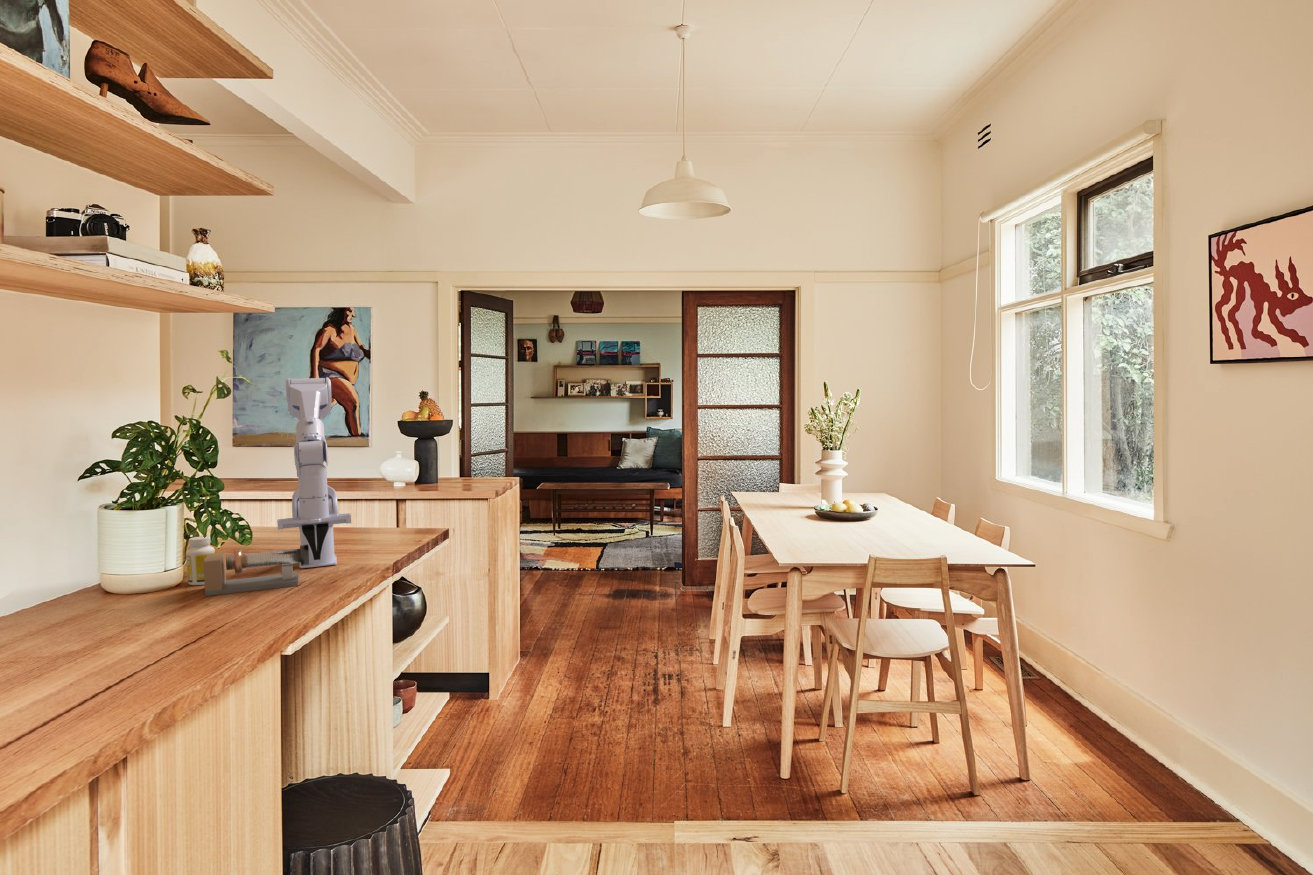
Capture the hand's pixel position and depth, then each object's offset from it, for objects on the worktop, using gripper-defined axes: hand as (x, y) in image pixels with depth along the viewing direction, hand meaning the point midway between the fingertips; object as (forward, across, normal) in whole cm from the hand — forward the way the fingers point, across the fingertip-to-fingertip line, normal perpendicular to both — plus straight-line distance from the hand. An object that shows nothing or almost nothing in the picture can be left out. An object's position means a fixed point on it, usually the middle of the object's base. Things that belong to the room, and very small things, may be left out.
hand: (317, 558), depth 171 cm
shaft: (+1, -9, 0) cm, 10 cm away
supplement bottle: (+5, -23, +9) cm, 25 cm away
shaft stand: (+4, -12, 0) cm, 13 cm away
